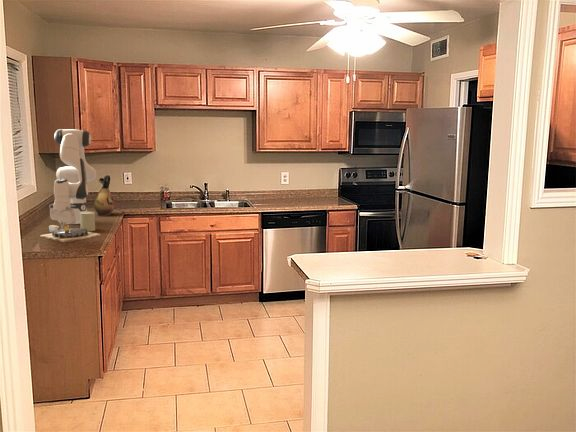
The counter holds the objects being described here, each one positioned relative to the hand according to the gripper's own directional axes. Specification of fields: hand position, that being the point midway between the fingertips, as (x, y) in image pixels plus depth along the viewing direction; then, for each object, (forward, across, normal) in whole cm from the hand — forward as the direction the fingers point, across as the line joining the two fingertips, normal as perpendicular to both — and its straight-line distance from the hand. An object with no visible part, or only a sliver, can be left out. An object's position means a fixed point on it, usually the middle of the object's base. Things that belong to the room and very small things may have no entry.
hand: (63, 228), depth 325 cm
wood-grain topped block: (+7, +21, -7) cm, 23 cm away
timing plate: (+6, +2, -6) cm, 8 cm away
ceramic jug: (+9, +48, -70) cm, 86 cm away
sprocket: (+5, +2, -6) cm, 7 cm away
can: (+7, +10, -24) cm, 27 cm away
